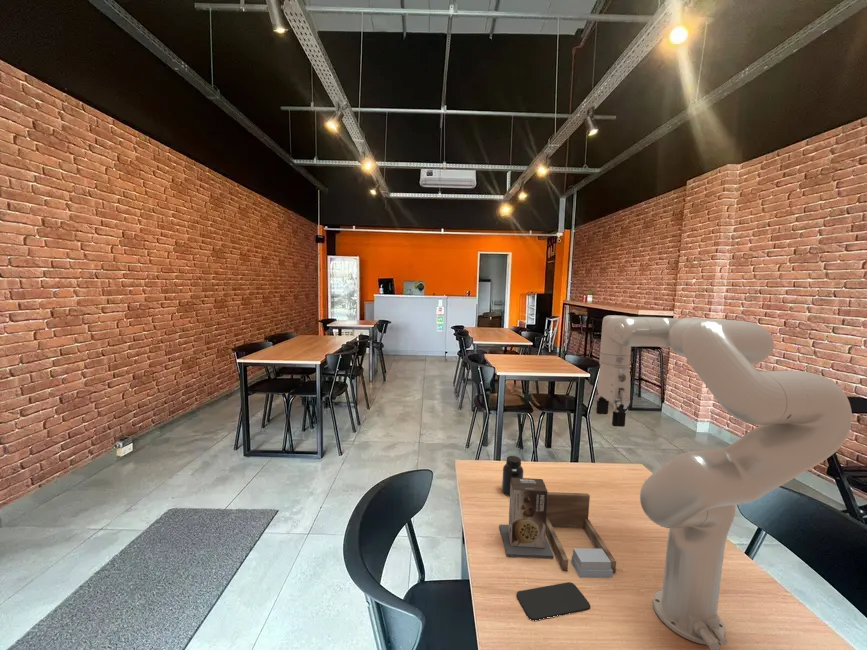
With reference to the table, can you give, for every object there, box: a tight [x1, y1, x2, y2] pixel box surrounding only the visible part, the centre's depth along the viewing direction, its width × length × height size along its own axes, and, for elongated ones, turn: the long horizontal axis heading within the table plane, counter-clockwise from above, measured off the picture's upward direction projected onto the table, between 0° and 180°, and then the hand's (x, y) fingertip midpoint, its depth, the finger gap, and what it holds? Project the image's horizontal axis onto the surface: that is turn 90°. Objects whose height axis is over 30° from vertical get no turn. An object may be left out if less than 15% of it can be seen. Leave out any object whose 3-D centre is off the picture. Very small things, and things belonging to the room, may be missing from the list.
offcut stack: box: [570, 547, 614, 578], centre depth 91 cm, size 5×8×4 cm, turn 92°
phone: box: [515, 581, 591, 622], centre depth 81 cm, size 7×1×15 cm
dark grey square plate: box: [498, 524, 555, 560], centre depth 100 cm, size 12×12×1 cm
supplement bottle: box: [501, 455, 524, 497], centre depth 125 cm, size 7×7×12 cm
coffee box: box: [508, 477, 549, 548], centre depth 99 cm, size 9×6×16 cm
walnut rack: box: [546, 491, 617, 574], centre depth 99 cm, size 18×13×10 cm
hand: (609, 419), depth 103 cm, fingers open, 9 cm apart
